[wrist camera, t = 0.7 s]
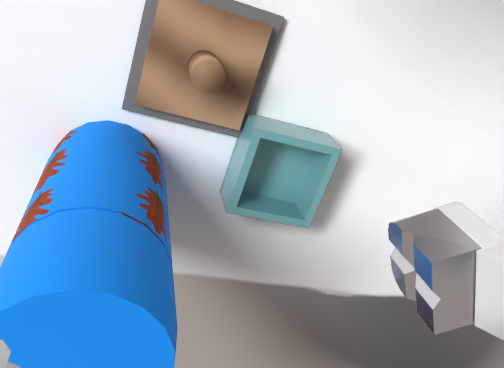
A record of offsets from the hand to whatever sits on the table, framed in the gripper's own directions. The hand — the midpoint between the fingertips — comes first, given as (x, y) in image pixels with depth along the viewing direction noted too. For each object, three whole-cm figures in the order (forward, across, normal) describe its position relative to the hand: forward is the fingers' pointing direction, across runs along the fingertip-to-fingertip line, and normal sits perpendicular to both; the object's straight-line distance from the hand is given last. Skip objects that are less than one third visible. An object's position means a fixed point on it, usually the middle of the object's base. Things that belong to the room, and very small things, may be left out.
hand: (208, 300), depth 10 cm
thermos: (+37, +9, +12) cm, 40 cm away
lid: (+36, -3, +4) cm, 37 cm away
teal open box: (+37, -8, +16) cm, 41 cm away
